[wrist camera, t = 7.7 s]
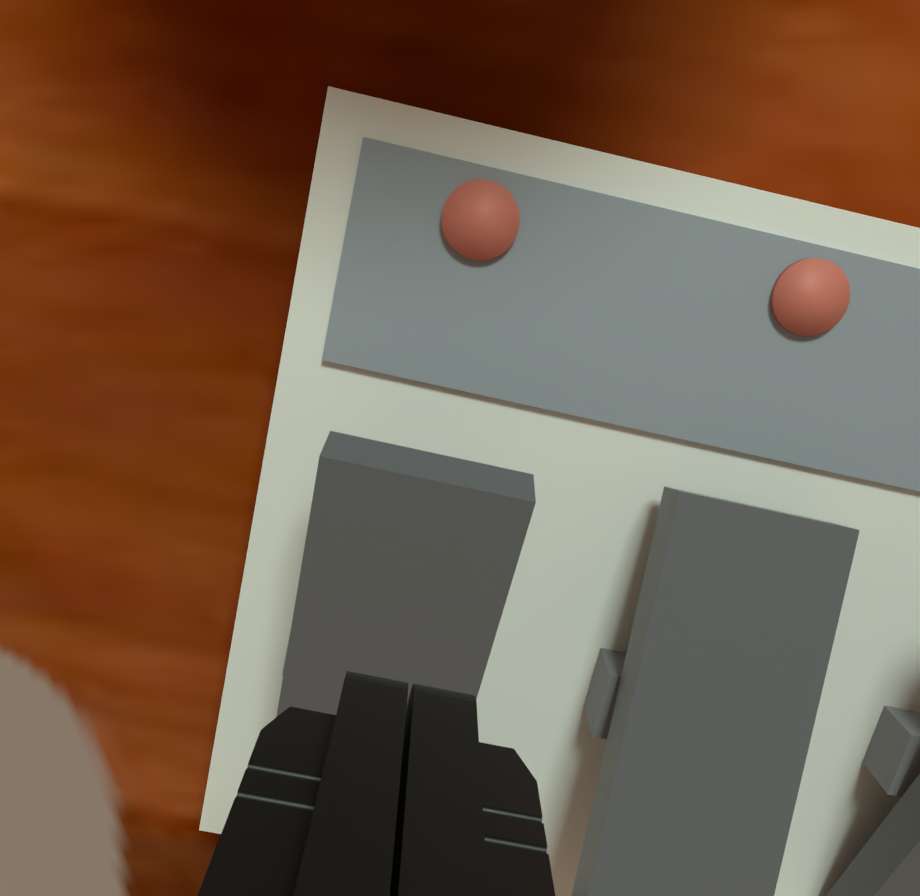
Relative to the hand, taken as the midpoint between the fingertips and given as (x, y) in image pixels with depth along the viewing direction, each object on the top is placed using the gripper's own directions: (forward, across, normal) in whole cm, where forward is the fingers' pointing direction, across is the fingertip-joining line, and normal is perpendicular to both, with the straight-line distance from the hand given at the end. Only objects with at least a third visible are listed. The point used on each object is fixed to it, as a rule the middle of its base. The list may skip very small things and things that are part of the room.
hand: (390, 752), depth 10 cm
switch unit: (+15, -8, +2) cm, 17 cm away
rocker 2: (+9, -8, +5) cm, 13 cm away
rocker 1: (+10, 0, +5) cm, 11 cm away
